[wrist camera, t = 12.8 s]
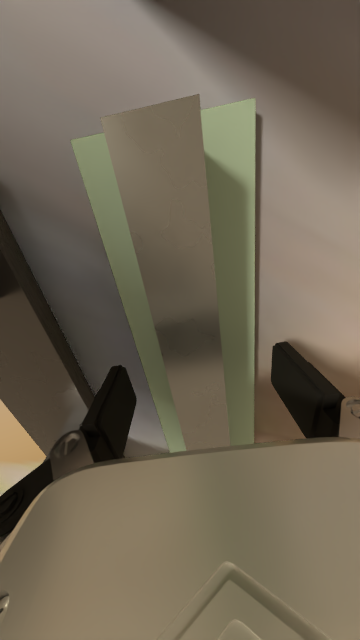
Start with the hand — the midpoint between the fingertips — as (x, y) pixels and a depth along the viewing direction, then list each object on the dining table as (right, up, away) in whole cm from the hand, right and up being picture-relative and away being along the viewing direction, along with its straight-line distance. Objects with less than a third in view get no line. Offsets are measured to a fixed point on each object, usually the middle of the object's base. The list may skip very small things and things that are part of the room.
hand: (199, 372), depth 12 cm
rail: (0, +1, +1) cm, 2 cm away
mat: (0, +1, +2) cm, 2 cm away
